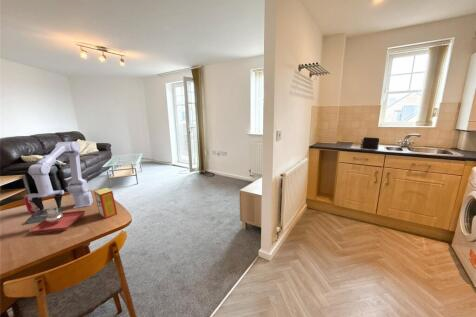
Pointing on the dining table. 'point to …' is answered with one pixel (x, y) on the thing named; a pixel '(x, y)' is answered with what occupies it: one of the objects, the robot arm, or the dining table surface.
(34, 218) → the bore housing
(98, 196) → the baking soda box
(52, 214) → the end cover
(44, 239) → the dining table surface
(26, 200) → the beverage can
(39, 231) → the plant saucer
